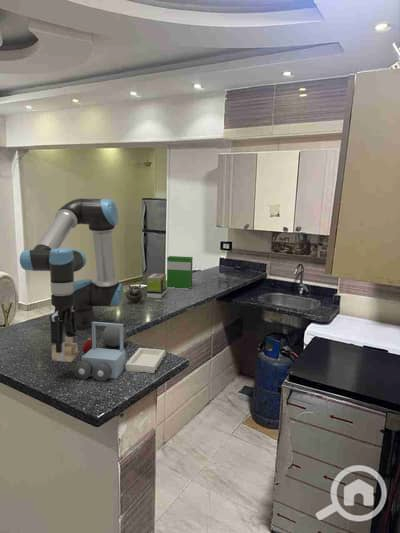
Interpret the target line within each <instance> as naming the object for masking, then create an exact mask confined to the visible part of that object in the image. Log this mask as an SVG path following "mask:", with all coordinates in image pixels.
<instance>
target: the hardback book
mask: <svg viewBox="0 0 400 533" xmlns="http://www.w3.org/2000/svg"><path fill="white" fill-rule="evenodd" d="M193 258H194V257H193V256H180V255H179V256H177V255H176V256H175V255H169V256H167V258H166V263H167V264H166V266H167V267H166V268H167V270H166V288H167V287H175V288H188V289H190V290H191V288H190V287H192V288H193Z"/></svg>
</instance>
